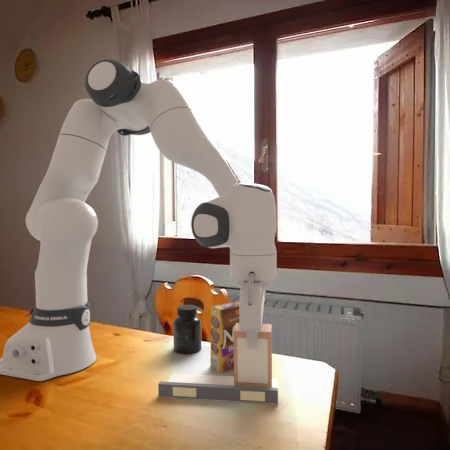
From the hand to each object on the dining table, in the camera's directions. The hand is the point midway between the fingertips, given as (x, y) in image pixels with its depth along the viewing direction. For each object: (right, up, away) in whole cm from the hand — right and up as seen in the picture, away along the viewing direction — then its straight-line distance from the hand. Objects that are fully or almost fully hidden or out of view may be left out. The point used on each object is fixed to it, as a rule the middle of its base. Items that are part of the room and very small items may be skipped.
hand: (253, 339), depth 70 cm
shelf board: (-6, -11, +1) cm, 13 cm away
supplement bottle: (-15, -10, +21) cm, 28 cm away
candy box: (-4, -11, +11) cm, 16 cm away
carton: (0, -10, 0) cm, 10 cm away
